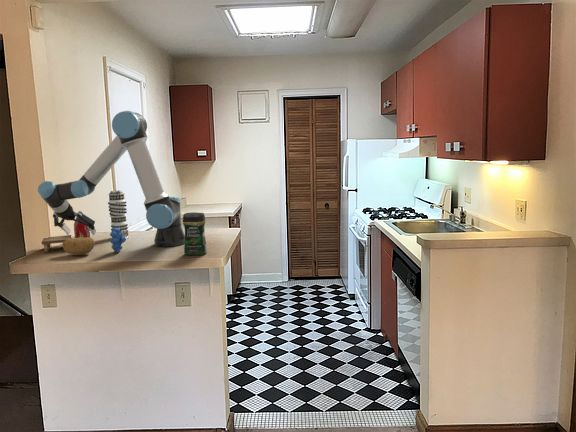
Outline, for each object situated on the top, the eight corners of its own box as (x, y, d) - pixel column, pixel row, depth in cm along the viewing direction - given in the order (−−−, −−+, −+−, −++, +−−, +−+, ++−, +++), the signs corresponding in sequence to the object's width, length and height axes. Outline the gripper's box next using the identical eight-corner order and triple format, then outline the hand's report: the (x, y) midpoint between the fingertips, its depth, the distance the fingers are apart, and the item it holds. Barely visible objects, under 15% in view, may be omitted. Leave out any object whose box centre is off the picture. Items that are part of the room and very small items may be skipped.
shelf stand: (71, 250, 222) (70, 239, 221) (42, 253, 218) (41, 242, 217) (72, 245, 233) (71, 234, 232) (45, 247, 229) (44, 237, 228)
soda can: (85, 245, 232) (82, 221, 230) (72, 245, 233) (69, 221, 231) (93, 242, 239) (91, 219, 237) (81, 242, 240) (79, 219, 238)
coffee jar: (182, 256, 204) (179, 214, 201) (188, 251, 212) (185, 211, 209) (204, 256, 203) (201, 213, 200) (209, 251, 211) (206, 211, 208)
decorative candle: (122, 240, 243) (118, 191, 239) (107, 239, 245) (103, 191, 241) (133, 236, 251) (129, 190, 247) (117, 235, 254) (113, 190, 250)
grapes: (123, 255, 209) (121, 228, 207) (108, 255, 209) (105, 229, 207) (130, 249, 220) (128, 224, 219) (115, 249, 220) (113, 224, 218)
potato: (69, 252, 217) (68, 235, 216) (99, 252, 216) (97, 235, 215) (58, 258, 207) (56, 240, 206) (89, 257, 207) (87, 239, 205)
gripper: (33, 213, 218) (56, 238, 235) (84, 213, 215) (103, 238, 232) (39, 201, 222) (61, 226, 240) (89, 200, 220) (107, 226, 237)
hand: (81, 232), depth 236 cm, fingers open, 13 cm apart
